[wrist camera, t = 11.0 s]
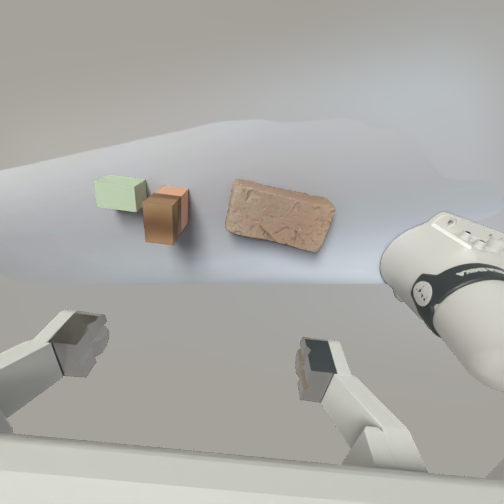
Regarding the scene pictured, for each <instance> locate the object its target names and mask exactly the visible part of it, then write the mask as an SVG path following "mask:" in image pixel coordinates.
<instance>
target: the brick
mask: <svg viewBox="0 0 504 504" xmlns="http://www.w3.org/2000/svg"><path fill="white" fill-rule="evenodd" d="M334 212H335V207H334V205H333V204H332V203H331V202H330V201H329V200H328V199H325V198H323V197H318V196H309V195H308V194H306V193H300V192H295V191H291V190H285V189H281V188H275V187H271V186H265V185H261V184H259V183H255V182H252V181H245V180H240V179H236V180H235V181H234V183H233V186H232V193H231V196H230V202H229V208H228V211H227V216H226V221H225V228H226V230H227V231H229V232H230V233H234V234H238V235H242V236H246V237H250V238H259V239H267V240H269V241H275V242H278V243H281V244H287V245H289V246H293V247H295V248H299V249H303V250H307V251H312V252H318V251H319V250H320V247H321V244H322V243H323V241H324V239H325V237H326V234H327V232H328V229H329V227H330V224H331V221H332V218H333V215H334Z"/></svg>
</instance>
